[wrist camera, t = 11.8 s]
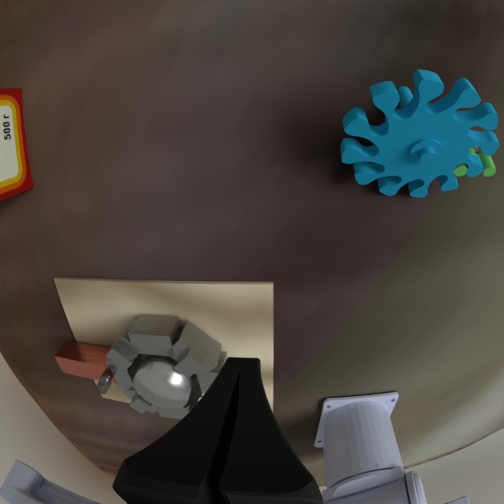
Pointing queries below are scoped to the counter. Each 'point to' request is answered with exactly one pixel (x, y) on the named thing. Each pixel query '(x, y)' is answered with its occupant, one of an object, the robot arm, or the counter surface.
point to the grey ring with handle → (152, 343)
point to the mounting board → (173, 304)
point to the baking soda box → (13, 145)
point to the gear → (421, 136)
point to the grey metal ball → (162, 382)
